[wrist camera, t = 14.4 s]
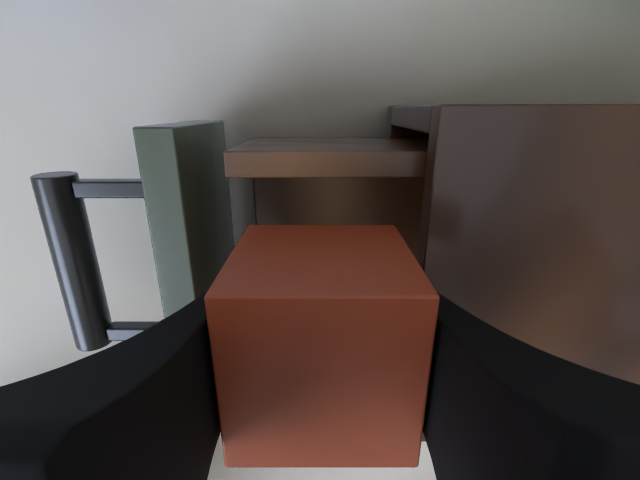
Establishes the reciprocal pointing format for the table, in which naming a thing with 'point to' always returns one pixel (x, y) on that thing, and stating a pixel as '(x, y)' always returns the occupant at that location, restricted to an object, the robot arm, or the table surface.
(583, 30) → the table surface
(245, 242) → the block
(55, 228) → the drawer
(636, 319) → the cabinet
